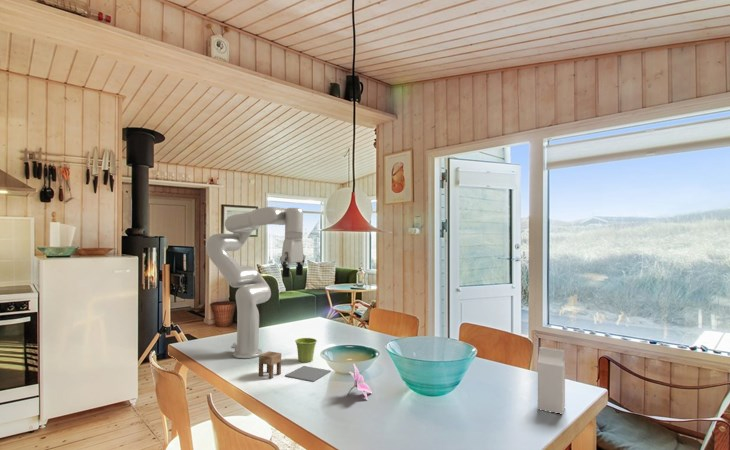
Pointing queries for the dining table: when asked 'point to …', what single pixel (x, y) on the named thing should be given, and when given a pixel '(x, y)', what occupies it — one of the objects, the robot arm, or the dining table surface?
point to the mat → (308, 373)
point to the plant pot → (305, 349)
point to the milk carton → (551, 380)
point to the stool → (270, 363)
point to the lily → (360, 382)
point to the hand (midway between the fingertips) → (292, 276)
